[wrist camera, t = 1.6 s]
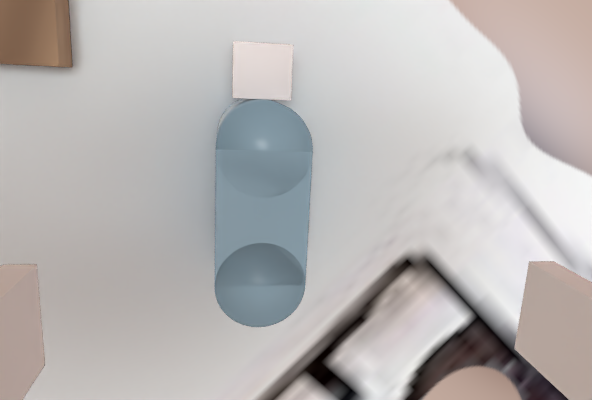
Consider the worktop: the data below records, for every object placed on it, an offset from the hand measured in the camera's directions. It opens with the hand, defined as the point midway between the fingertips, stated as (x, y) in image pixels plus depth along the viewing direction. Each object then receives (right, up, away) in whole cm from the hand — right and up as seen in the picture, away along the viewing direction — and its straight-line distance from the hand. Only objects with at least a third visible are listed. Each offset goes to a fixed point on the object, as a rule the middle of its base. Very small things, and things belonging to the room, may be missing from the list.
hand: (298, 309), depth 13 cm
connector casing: (-2, +5, +13) cm, 14 cm away
